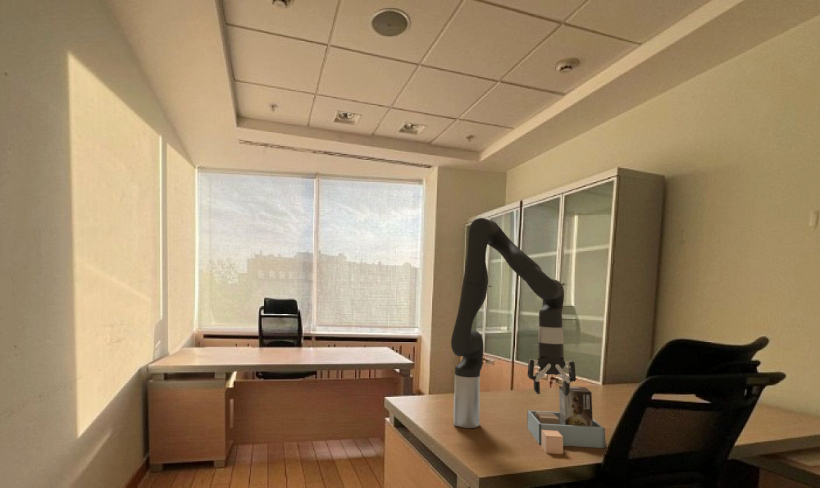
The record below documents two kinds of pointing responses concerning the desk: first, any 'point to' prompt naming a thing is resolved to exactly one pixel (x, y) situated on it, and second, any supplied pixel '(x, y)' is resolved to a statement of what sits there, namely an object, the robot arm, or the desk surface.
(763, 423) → the desk surface
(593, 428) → the tote
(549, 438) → the cube
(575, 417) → the coffee box
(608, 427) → the desk surface
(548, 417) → the block
